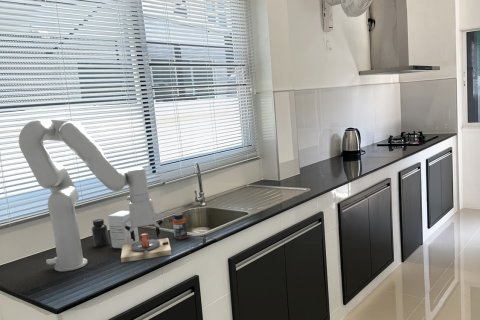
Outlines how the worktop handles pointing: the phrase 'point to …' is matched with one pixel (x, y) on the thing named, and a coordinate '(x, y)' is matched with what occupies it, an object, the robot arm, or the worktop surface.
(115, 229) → the supplement box
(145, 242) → the dial
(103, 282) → the worktop surface
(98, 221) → the supplement bottle
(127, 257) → the board
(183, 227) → the supplement bottle
